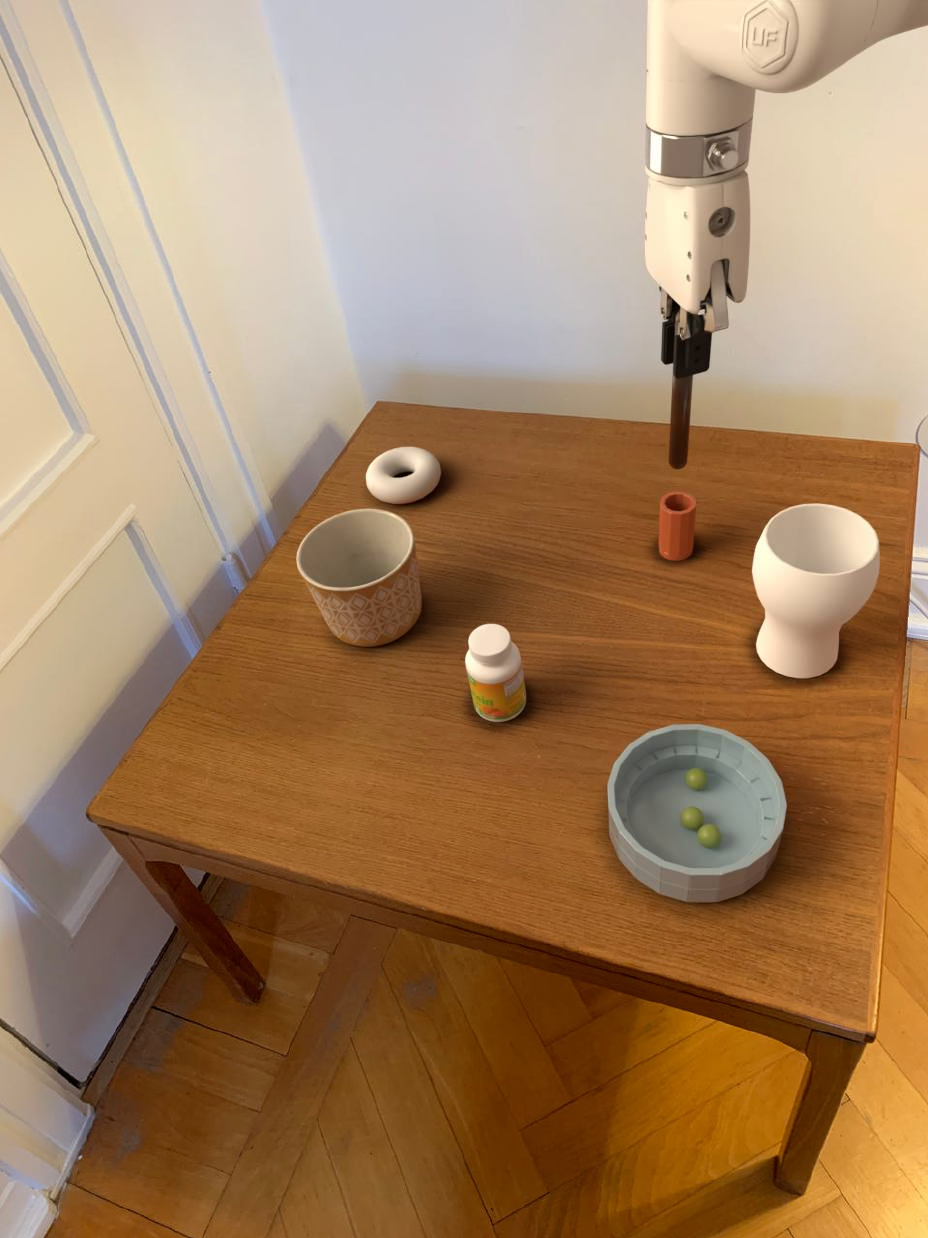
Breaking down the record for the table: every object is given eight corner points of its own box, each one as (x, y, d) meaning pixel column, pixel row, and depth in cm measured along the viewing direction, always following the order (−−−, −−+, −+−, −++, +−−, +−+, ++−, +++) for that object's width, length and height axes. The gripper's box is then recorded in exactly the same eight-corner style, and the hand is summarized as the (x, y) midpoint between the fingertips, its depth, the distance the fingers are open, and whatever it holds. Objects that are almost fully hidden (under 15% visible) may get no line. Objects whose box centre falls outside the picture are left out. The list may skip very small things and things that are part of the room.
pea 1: (713, 781, 77) (701, 761, 77) (711, 785, 75) (698, 765, 75) (694, 792, 77) (682, 772, 78) (692, 796, 75) (679, 776, 76)
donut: (457, 475, 114) (400, 453, 118) (454, 454, 111) (396, 432, 116) (410, 519, 109) (353, 494, 114) (405, 498, 106) (347, 474, 111)
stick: (682, 459, 85) (692, 300, 73) (690, 470, 84) (701, 310, 72) (665, 464, 85) (672, 305, 73) (672, 475, 84) (681, 315, 72)
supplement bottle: (463, 705, 87) (448, 642, 80) (499, 672, 90) (488, 609, 82) (501, 733, 84) (489, 670, 77) (537, 699, 87) (529, 635, 79)
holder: (684, 534, 100) (687, 487, 95) (698, 555, 97) (702, 508, 92) (653, 543, 99) (654, 496, 94) (666, 564, 97) (668, 517, 92)
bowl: (730, 741, 80) (736, 705, 76) (809, 876, 70) (820, 844, 66) (586, 784, 79) (584, 750, 75) (646, 927, 69) (647, 897, 65)
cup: (739, 684, 84) (755, 576, 73) (742, 606, 91) (757, 496, 80) (856, 696, 81) (891, 584, 71) (850, 614, 88) (881, 501, 77)
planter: (446, 584, 100) (431, 515, 92) (405, 665, 92) (385, 598, 84) (349, 568, 104) (328, 501, 96) (302, 645, 96) (275, 579, 89)
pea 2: (697, 811, 75) (699, 799, 74) (707, 830, 74) (709, 819, 72) (676, 817, 75) (677, 806, 73) (685, 837, 74) (686, 825, 72)
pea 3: (721, 836, 73) (709, 854, 73) (702, 821, 74) (689, 839, 73) (730, 833, 71) (717, 852, 71) (710, 817, 72) (697, 836, 71)
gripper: (800, 167, 58) (767, 401, 71) (697, 103, 69) (686, 317, 82) (696, 194, 58) (683, 424, 71) (609, 125, 68) (612, 336, 82)
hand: (684, 365), depth 76 cm, fingers closed on stick, 1 cm apart
